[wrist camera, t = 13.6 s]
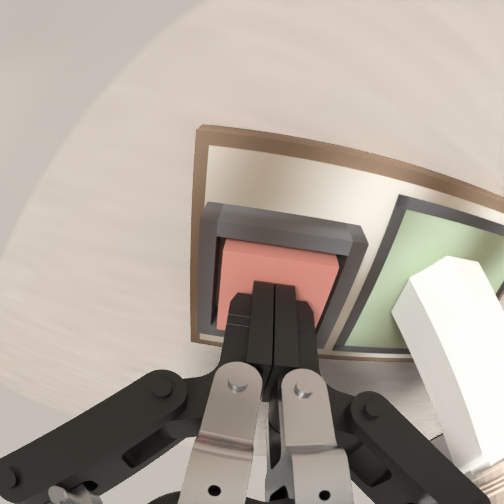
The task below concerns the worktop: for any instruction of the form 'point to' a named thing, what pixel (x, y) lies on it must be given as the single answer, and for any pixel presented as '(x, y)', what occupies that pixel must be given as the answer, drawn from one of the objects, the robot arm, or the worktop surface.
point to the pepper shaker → (460, 362)
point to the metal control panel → (334, 229)
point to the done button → (275, 273)
